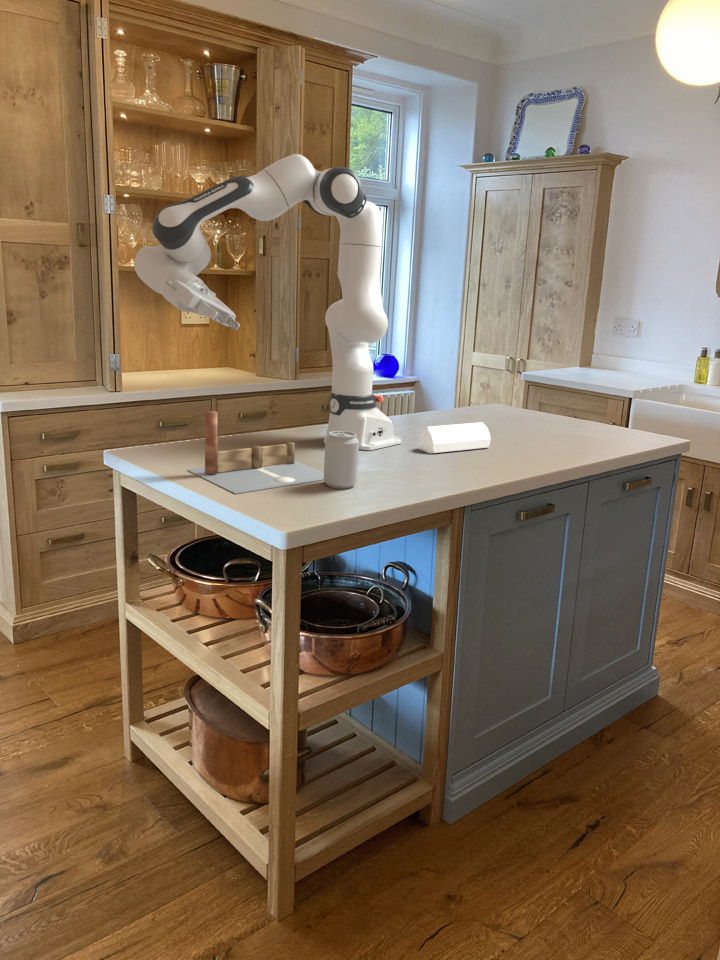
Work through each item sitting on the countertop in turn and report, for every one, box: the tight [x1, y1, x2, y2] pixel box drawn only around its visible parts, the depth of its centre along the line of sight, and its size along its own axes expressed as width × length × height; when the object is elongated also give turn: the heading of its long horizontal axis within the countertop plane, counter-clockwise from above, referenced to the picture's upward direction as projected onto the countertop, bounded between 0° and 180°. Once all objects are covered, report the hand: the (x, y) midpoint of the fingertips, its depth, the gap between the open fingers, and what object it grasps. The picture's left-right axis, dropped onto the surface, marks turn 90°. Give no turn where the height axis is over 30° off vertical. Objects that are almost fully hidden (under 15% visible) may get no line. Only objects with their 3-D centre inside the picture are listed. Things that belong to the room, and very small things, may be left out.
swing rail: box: [204, 410, 252, 474], centre depth 177 cm, size 12×3×14 cm, turn 129°
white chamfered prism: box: [417, 421, 492, 455], centre depth 215 cm, size 7×7×24 cm
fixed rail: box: [251, 441, 296, 469], centre depth 186 cm, size 12×2×5 cm, turn 129°
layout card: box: [186, 460, 324, 495], centre depth 179 cm, size 27×22×1 cm
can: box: [323, 431, 360, 490], centre depth 172 cm, size 8×8×12 cm
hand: (227, 321), depth 180 cm, fingers open, 8 cm apart
